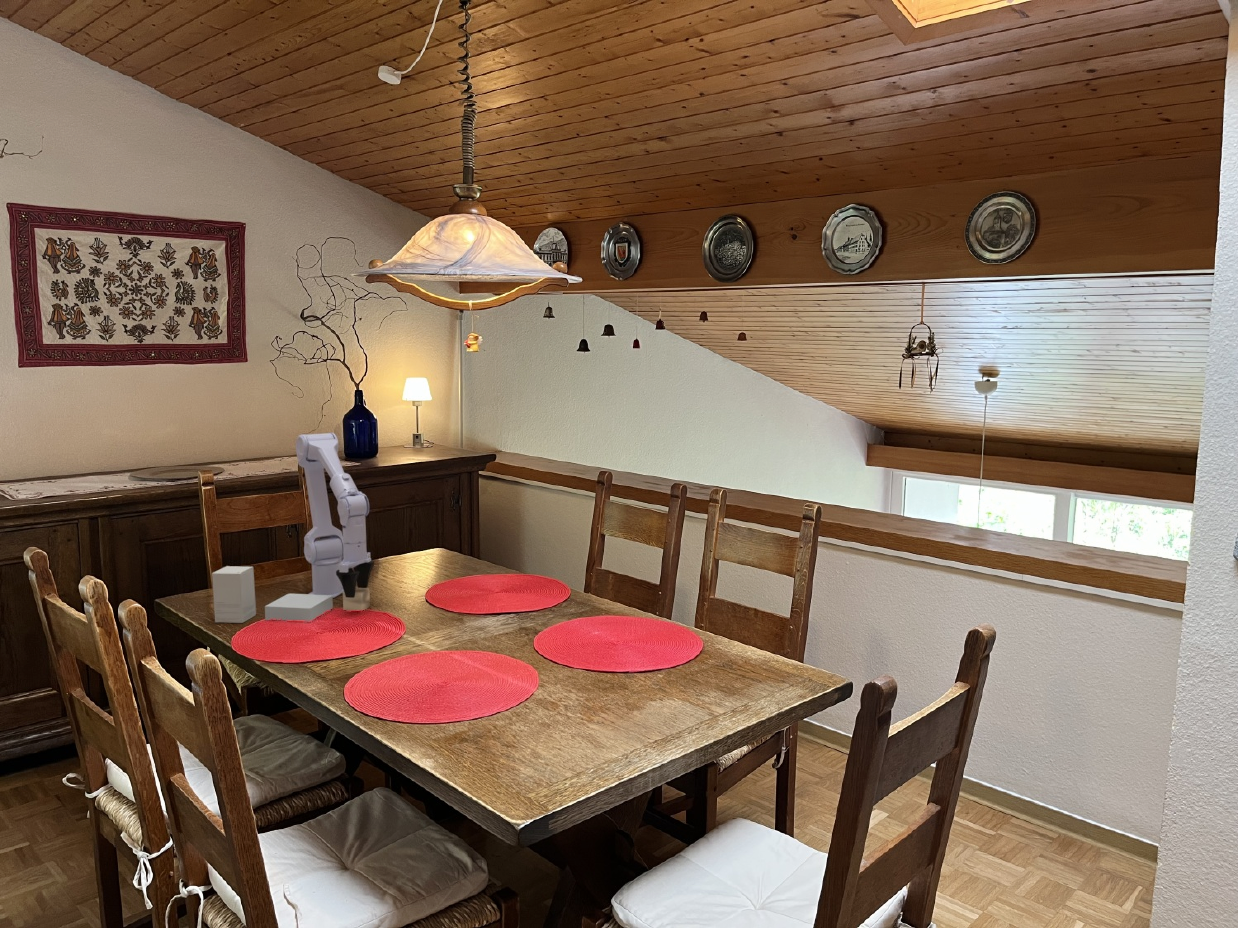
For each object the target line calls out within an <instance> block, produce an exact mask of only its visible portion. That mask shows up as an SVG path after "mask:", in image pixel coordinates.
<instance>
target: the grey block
mask: <svg viewBox="0 0 1238 928" xmlns="http://www.w3.org/2000/svg"><path fill="white" fill-rule="evenodd" d="M333 601H334V600H333V598H332V595H311V594H309V593H308V594H306V593H287V594H285V595H284V596H281V597H279V598H278V599H276V600H274V601H272V602H270V603H269V604H266V605H265V606H264V617H265V618H264V619H265V621H267V620H270V619H277V620H279V619H282V620H305V621H311V620H313V619H315V618H316V617H317V616H319V615H321V614H323V613H324V612H325V611H327V610H330V609H332V610H333V608H334V603H333ZM330 611H331V610H330Z"/></svg>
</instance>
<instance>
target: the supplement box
mask: <svg viewBox="0 0 1238 928" xmlns="http://www.w3.org/2000/svg"><path fill="white" fill-rule="evenodd" d="M211 578H212V579H211V580H212V594H213V609H214V610H213V612H214V622H215V623H229V624H230V623H232V624H233V623H234V624H243V623H245V622H247V621H249V620H250V619H252V618H253V617H255V616H256V615H257V607H256V606H257V605H256V591H255V590H256V588H255V574H254V566H236V565H235V566H230V565H226V566H223V567H222V568H220V569H218V570H216V571H213V572H212V573H211Z"/></svg>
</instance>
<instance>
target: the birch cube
mask: <svg viewBox="0 0 1238 928" xmlns="http://www.w3.org/2000/svg"><path fill="white" fill-rule="evenodd" d="M370 597H371V595H370V587H367V588H358V587H356V591H355V597H354V598H347V597H346V596H345V593H344V592H343V593H342V606H343V607H342V609H343V610H364V611H366V610H367V609H369V608H370V607H371V600H370V599H371V598H370ZM365 609H366V610H365Z"/></svg>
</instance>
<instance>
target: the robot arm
mask: <svg viewBox="0 0 1238 928" xmlns="http://www.w3.org/2000/svg"><path fill="white" fill-rule="evenodd" d="M339 446H340V445H339V439H338V436H337V435H336V434H335V432H326V433H324V432H323V433H312V434H311V433H310V434H299V435H298V436H297V438H296V442H295V451H296V458H297V459H296V460H297V462H298V463H297V464H298V466H299V467H301V468H303V470H304V476H305V481H306V482H305V483H306V489H307V496H308V501H309V507H310V508H309V509H310V515H311V521H312V522H311V523H312V528H311V529H310V530H309V531H308V532H307V533H306V534H305V536H304V537H303V541H304V547H303V553H304V558H305V560H306V561H307V562H308V563H309V564H311V575H312V579H311V580H312V582H311V583H312V591H311V592H309V593H308V594H311V595H332V598H336V597H338V596H339V595H342V594H343V592H344V593H345V596H346V597H347V598H354V597H355V591H356V588H368V587H369V581H370V577H371V573H372V570H373V568H374V565H375V561H372V558H371V552H370V551H369V552H368V551H367V530H366V529H367V527H366V517H367V516H368V515H369V513H370V502H369V498H368V497H367V495H366V494H365V493H363V492H362V491H359V489H358V488H357V485H356V484H355V482H354V480H353V478H352V476H351V474H349V473H346V472H345V471H344V469H343V466H342V463H341V460H340V458H339V455H338V453H339ZM324 469H325V471H326V473H327V474H328V476H329V477H330V482H329V487H330V488H331V491H332V492H333V496H335V498H336V501H337V506H336V507H337V512H338V513H337V514H338V516H339V522H340V525H342V530H341V529H339V528H337V527H335V526H334V525H333V523H332V518H331V517H332V516H331V511H330V510H331V509H330V504H329V497H328V491H327V482H326V477H325V476H326V475H325V471H324Z"/></svg>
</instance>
